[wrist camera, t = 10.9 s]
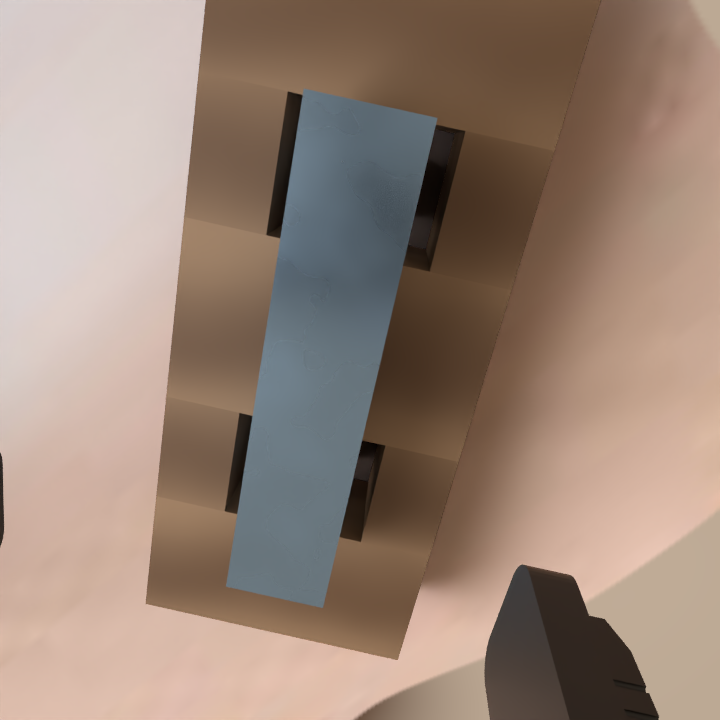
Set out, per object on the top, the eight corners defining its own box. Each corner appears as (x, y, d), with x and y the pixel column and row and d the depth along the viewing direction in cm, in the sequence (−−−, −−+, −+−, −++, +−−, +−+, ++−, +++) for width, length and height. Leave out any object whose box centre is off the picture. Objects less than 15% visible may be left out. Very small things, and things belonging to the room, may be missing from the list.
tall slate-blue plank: (340, 107, 20) (303, 88, 13) (427, 127, 20) (437, 117, 13) (277, 461, 25) (225, 586, 18) (347, 477, 25) (322, 608, 18)
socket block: (259, -91, 18) (220, -151, 14) (576, -20, 18) (620, -62, 14) (182, 539, 27) (145, 603, 23) (399, 587, 27) (397, 660, 23)
